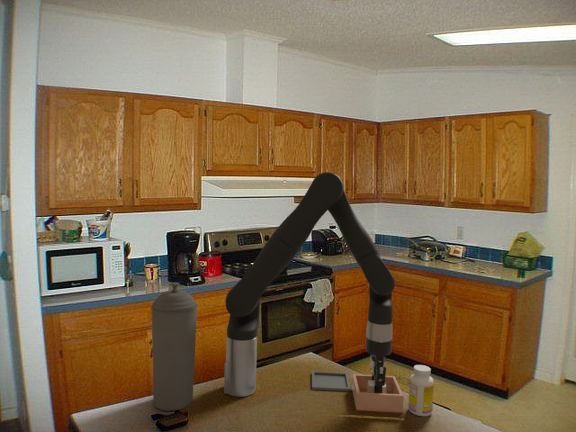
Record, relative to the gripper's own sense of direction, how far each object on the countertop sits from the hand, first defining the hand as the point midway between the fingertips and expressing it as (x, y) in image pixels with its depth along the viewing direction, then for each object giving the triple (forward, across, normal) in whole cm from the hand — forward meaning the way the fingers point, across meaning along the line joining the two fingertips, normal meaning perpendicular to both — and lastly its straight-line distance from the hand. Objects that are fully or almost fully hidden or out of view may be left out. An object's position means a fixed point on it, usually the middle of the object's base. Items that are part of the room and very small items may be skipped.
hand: (376, 391), depth 134 cm
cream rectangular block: (+2, 0, 0) cm, 2 cm away
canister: (+3, +7, -59) cm, 60 cm away
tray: (+3, -11, -13) cm, 17 cm away
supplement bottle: (+3, +4, +12) cm, 13 cm away
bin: (+3, 0, 0) cm, 3 cm away
